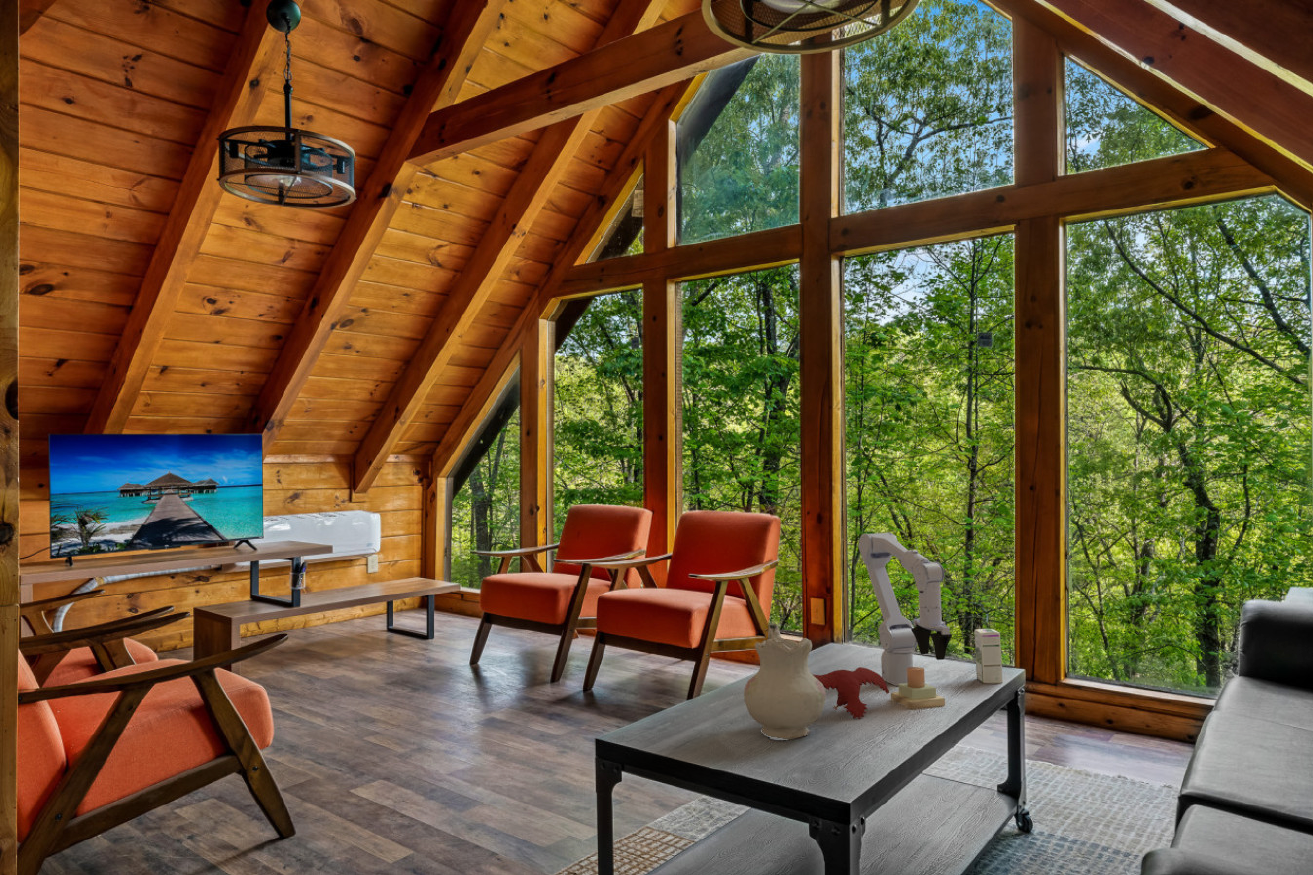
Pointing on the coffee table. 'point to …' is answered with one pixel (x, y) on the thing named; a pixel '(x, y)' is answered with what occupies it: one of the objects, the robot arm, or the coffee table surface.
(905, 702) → the maple slab
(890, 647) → the robot arm
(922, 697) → the sage slab
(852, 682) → the decorative bird sculpture
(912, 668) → the peach domed cylinder
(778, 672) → the ceramic pitcher
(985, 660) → the syrup box
